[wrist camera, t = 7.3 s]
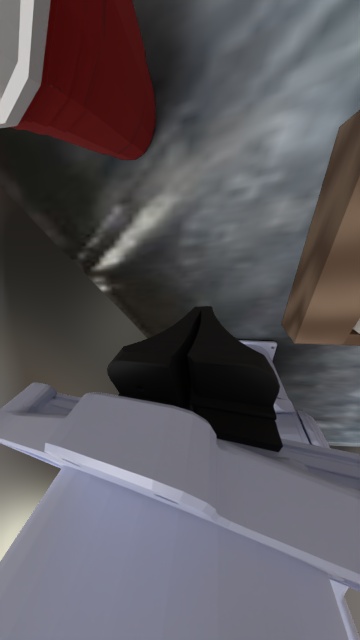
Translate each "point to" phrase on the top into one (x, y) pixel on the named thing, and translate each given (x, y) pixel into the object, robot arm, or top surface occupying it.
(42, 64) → the plastic cup
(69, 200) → the top surface
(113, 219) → the top surface
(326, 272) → the walnut panel
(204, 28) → the top surface
